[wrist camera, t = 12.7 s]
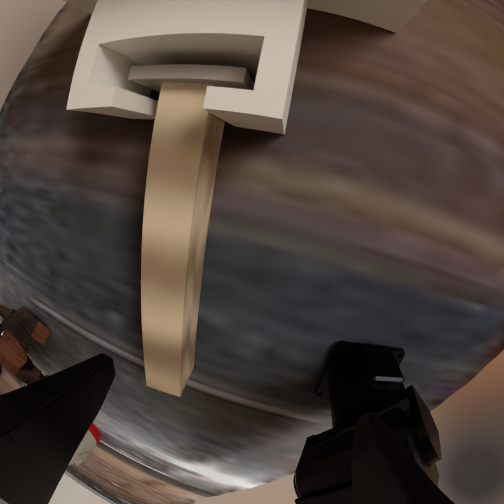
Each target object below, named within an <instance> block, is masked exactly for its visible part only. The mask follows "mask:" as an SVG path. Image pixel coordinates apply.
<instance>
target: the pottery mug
mask: <svg viewBox="0 0 504 504" xmlns="http://www.w3.org/2000/svg"><path fill="white" fill-rule="evenodd" d="M0 315H1V316H2V317H3V321H2V324H0V363H1V364H2V365H3V366H4V367H5V368H6V369H7V370H8V371H10V372H11V373H12V374H13V375H15V376H16V377H17V378H18V379H19V380H21V381H22V382H24V383H25V384H27V385H29V384H31V383H34V382H36V381H39V380H41V379H43V378H46V377H48V376H49V375H46V376H44V375H43V374H41V371H40V370H39V369H38V368H37V367H36V366H34V364H33V363H32V361H31V359H30V358H29V357H28V356H27V354H28V345H27V343H28V340H29V339H30V338H32V339H35V340H36V341H37V342H39V343H40V344H41V345H45V343H46V340H47V338H48V337H49V335H50V333H51V332H50V331H49V330H48V329H47V327H45V326H44V325H43V324H42V323H41V322H40V321H38V319H37V318H35V317H34V315H33V314H32V313H31V312H30V311H29V310H28V309H26V308H25V307H22V308H20V309H19V310H17V311H16V312H15V310H9V309H6V308H5V307H3V306H2V305H0ZM3 331H4V332H3ZM2 332H3V335H1V333H2Z"/></svg>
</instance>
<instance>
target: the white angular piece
mask: <svg viewBox="0 0 504 504" xmlns="http://www.w3.org/2000/svg"><path fill="white" fill-rule="evenodd" d="M64 1H66V2H68V3H70V4H72V5H74V6H76V7H78V8H80V9H82V10H84V11H86V12H88V13H90V14H92V16H91V19H90V22H89V24H88V27H87V30H86V33H85V36H84V39H83V42H82V45H81V49H80V52H79V56H78V59H77V63H76V67H75V71H74V75H73V79H72V83H71V88H70V93H69V98H68V103H67V109H66V110H74V111H82V112H90V113H98V114H105V115H112V116H118V117H124V118H130V119H155V117H156V111H157V106H158V101H156V100H154V99H151V98H150V95H151V90H152V89H150V88H148V87H145V86H143V85H140V84H138V83H135V82H133V81H130V80H128V77H129V72H130V68H131V66H145V65H169V64H194V65H218V66H232V67H243V68H246V69H247V71H248V73H249V75H250V77H256V80H255V85H254V90H245V89H237V88H227V87H215V86H207V90H206V95H205V100H204V105H203V109H205V110H207V111H208V112H210V113H212V114H214V115H216V116H217V117H219V118H221V119H223V120H224V121H226V122H228V123H230V124H231V125H233V126H235V127H242V128H248V129H255V130H261V131H267V132H273V133H278V134H283V135H284V134H285V129H286V123H287V118H288V113H289V107H290V102H291V96H292V91H293V86H294V80H295V75H296V69H297V63H298V58H299V52H300V47H301V41H302V35H303V30H304V24H305V18H306V12H307V8H308V9H313V10H318V11H323V12H328V13H332V14H336V15H341V16H344V17H348V18H352V19H355V20H359V21H362V22H365V23H369V24H372V25H375V26H378V27H381V28H384V29H386V30H389V31H392V32H394V33H398V32H399V30H400V29H401V28H402V27H403V26H404V25H405V24H406V23H407V22H408V21H409V20H410V19H411V18H412V17H413V15H414V14H415V13H416V12H417V11H418V10H419V9H420V8H421V7H422V6H423V5H424V4H425V3H426V2H427V1H428V0H64Z"/></svg>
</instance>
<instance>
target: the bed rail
mask: <svg viewBox="0 0 504 504" xmlns="http://www.w3.org/2000/svg"><path fill="white" fill-rule="evenodd" d="M128 80H130V81H133V82H135V83H138V84H140V85H143V86H145V87H148V88H150V89H152V90H155V91H157V92H159V93H160V96H159V100H158V106H157V111H156V117H155V122H154V128H153V135H152V141H151V148H150V155H149V163H148V171H147V180H146V190H145V201H144V214H143V230H142V254H141V313H142V336H143V352H144V365H145V375H146V385H147V386H148V387H151V388H154V389H157V390H160V391H163V392H166V393H169V394H172V395H175V396H178V397H180V396H181V394H182V392H183V389H184V387H185V385H186V383H187V380H188V378H189V376H190V374H191V371H192V369H193V366H194V353H195V341H196V329H197V318H198V308H199V298H200V288H201V279H202V271H203V262H204V254H205V246H206V238H207V231H208V223H209V216H210V209H211V202H212V195H213V189H214V182H215V176H216V170H217V164H218V158H219V152H220V146H221V140H222V135H223V129H224V124H225V121H224V120H223V119H221V118H219V117H217V116H216V115H214V114H212V113H210V112H208V111H207V110H205V109H203V105H204V100H205V95H206V90H207V86H215V87H227V88H237V89H245V90H254V83H253V81H252V79H251V77H250V75H249V73H248V71H247V69H246V68H243V67H232V66H218V65H194V64H169V65H145V66H131V68H130V72H129V77H128Z"/></svg>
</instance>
